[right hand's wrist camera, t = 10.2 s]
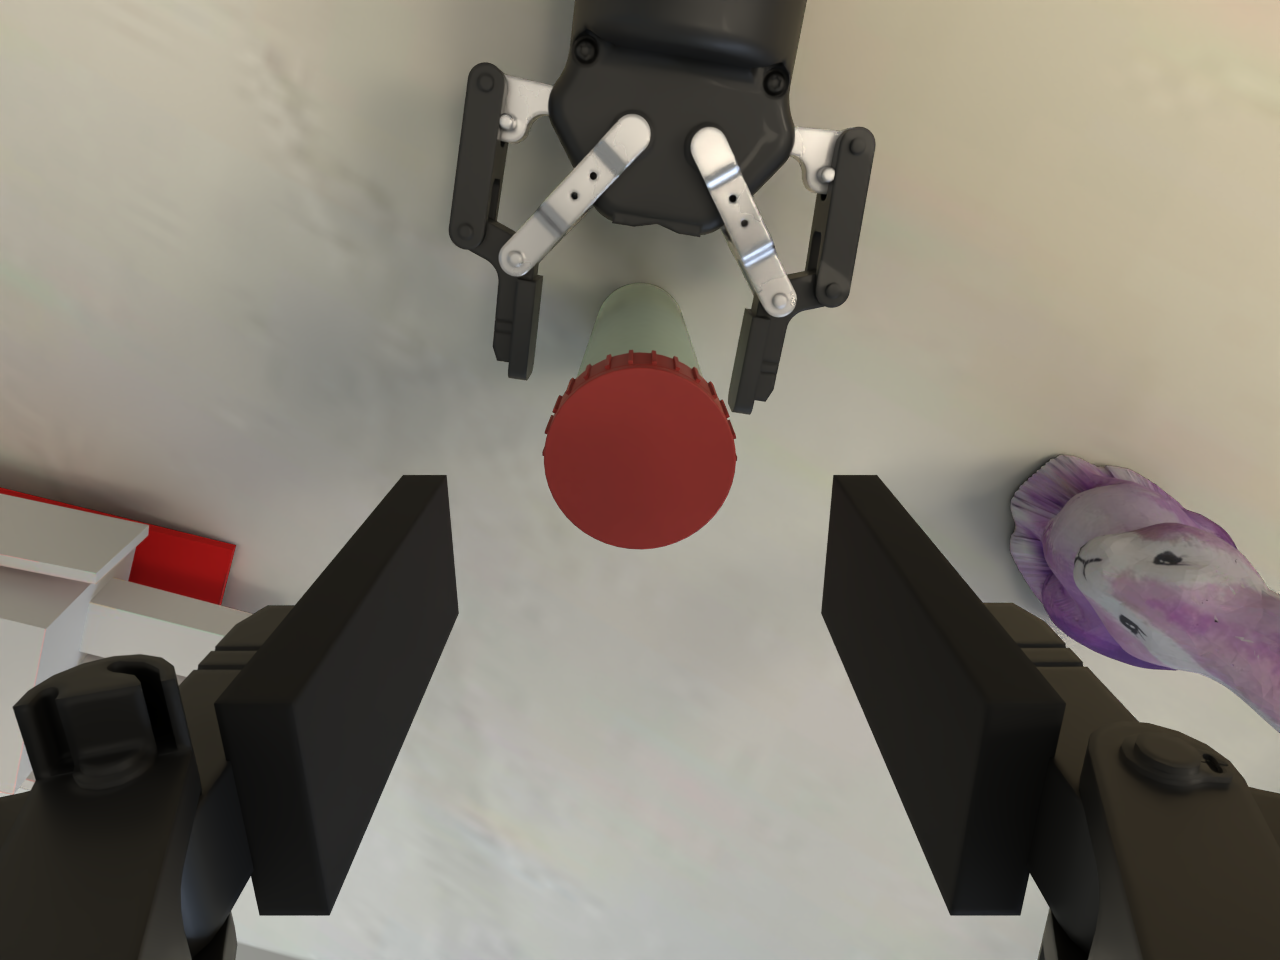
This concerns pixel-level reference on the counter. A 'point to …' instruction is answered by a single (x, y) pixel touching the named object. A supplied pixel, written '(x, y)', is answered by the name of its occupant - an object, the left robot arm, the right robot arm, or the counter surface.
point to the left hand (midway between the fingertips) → (630, 392)
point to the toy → (97, 601)
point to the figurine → (1146, 579)
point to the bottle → (639, 326)
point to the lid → (639, 451)
